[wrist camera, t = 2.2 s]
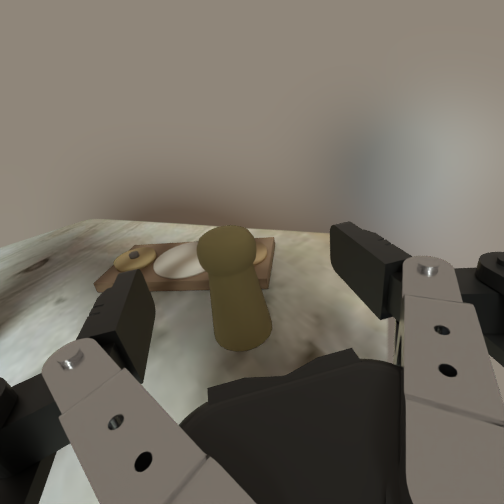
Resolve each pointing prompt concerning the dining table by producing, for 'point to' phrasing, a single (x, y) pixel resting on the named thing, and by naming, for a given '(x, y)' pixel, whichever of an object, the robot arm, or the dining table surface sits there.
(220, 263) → the cork
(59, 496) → the dining table surface
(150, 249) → the board
